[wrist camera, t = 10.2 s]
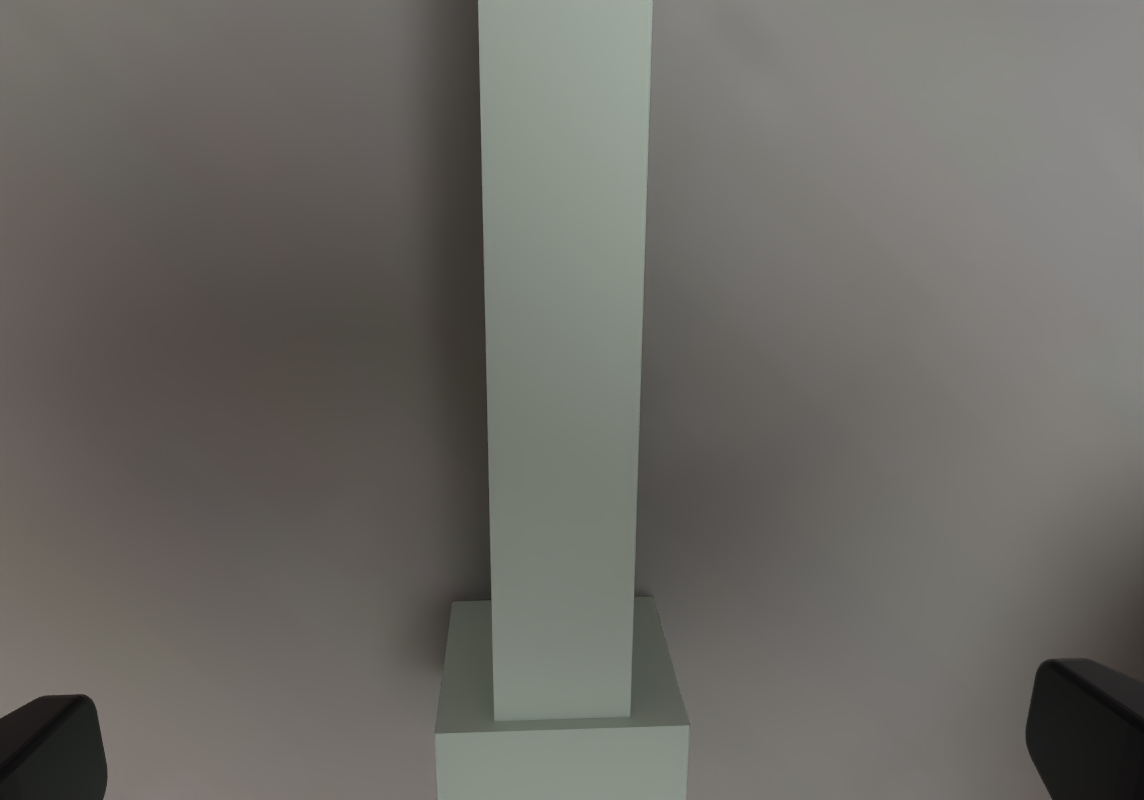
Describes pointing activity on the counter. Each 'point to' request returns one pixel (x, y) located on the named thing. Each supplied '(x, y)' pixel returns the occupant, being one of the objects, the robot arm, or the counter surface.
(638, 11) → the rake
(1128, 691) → the robot arm
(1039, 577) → the counter surface
